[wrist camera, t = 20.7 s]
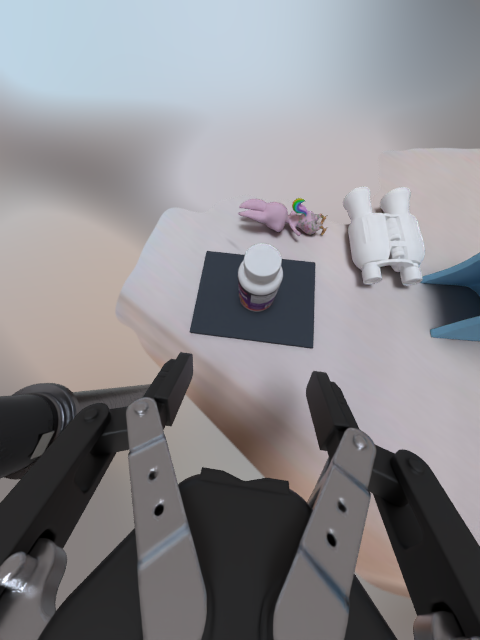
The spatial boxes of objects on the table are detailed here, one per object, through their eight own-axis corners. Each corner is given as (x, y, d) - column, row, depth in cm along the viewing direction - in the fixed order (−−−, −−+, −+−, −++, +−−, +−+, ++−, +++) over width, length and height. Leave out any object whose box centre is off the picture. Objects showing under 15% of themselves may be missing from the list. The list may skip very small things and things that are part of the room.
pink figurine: (317, 220, 35) (239, 203, 33) (338, 191, 29) (244, 169, 28) (317, 249, 33) (235, 232, 32) (340, 224, 28) (240, 202, 26)
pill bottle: (236, 282, 30) (234, 240, 20) (270, 278, 30) (283, 234, 20) (241, 314, 28) (240, 285, 19) (276, 310, 28) (293, 278, 19)
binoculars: (395, 208, 34) (419, 183, 30) (415, 289, 30) (446, 273, 25) (337, 207, 34) (352, 182, 30) (348, 287, 30) (367, 271, 25)
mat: (190, 332, 28) (189, 331, 27) (207, 253, 32) (206, 250, 31) (311, 348, 27) (313, 347, 27) (313, 264, 31) (315, 262, 30)
